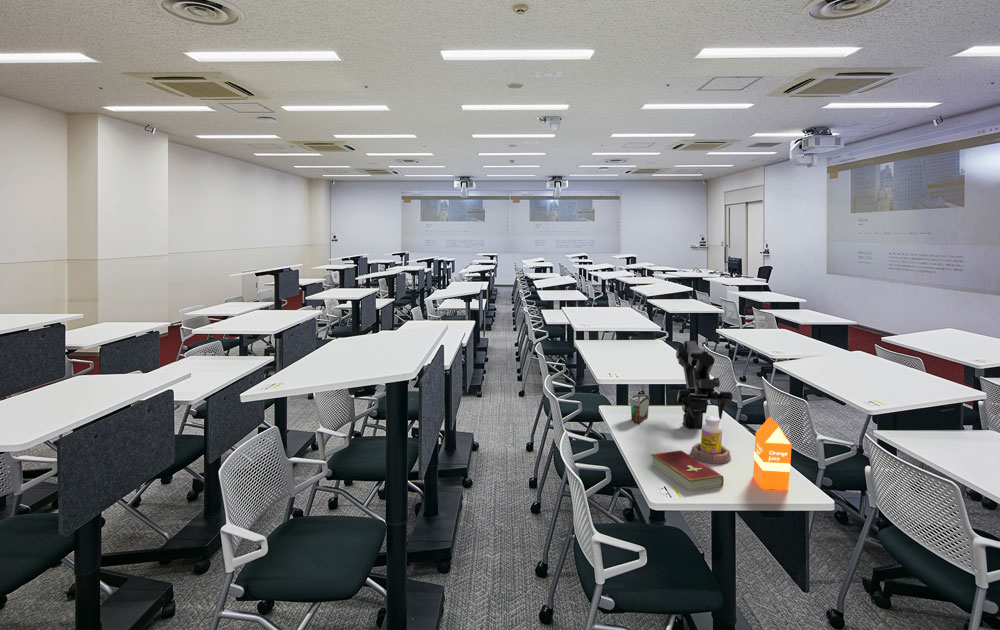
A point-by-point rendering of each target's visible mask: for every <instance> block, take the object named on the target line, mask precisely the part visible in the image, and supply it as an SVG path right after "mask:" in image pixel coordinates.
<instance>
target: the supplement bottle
mask: <svg viewBox="0 0 1000 630" xmlns="http://www.w3.org/2000/svg"><path fill="white" fill-rule="evenodd" d="M704 419H705V423H704V424H702V428H701V434H700V435H701V437H700V443H701V452H703V453H707V454H711V455H718V454H721V446H723V445H722V444H723V442H722V441H723V428H722V426H721V425H720V423H721V419H720V418H719V417H716V416H712V415H709V416H706V417H705V418H704Z"/></svg>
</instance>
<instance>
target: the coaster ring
mask: <svg viewBox="0 0 1000 630" xmlns="http://www.w3.org/2000/svg"><path fill="white" fill-rule="evenodd" d="M730 453H731V451H730V450H729V449H728V448H726V447H725V446H724V445H721V454H718V455H711V454H707V453H703V452H701V442H700V443H699V442H698V443H695V444H694V445H693V446H692V447H691V450H690V456H691V457H693V458H695V459H696V460H698V461H700V462H701V463H705V464H713V465H723V464H727V463H729V462H731V460H732V457H731V454H730Z"/></svg>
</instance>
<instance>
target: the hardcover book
mask: <svg viewBox="0 0 1000 630" xmlns="http://www.w3.org/2000/svg"><path fill="white" fill-rule="evenodd" d="M650 455H651V457H652V465H653V466H654V465H655V467H656V468H657V467H658V468H657V469H659V470H660V469H661V470H662V471H661V470H660V471H661V472H662V473H664V472H665V473H664V474H665V475H667V474H668V475H669V476H668V475H667V476H668V477H670V478H671V479H673V480H674V481H675V480H676V481H675V482H677V483H678V484H680V485H681V486H682V485H683V486H682V487H684V488H685V487H686V488H685V489H687V490H688V491H689V490H693V491H699V490H704V489H711V488H718V486H719V487H724V483H725V482H724V481H725V480H724V475H723V474H721V473H719V472H717V471H716V470H714V469H713V468H711V467H709V466H708V465H706V464H704V462H701V461H699V460H696V459H695V458H693V457H692V456H691V454H688V453H687V452H685V451H684V450H673V451H672V450H671V451H664V452H658V453H651V454H650ZM698 489H699V490H698Z"/></svg>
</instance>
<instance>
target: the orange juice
mask: <svg viewBox="0 0 1000 630" xmlns="http://www.w3.org/2000/svg"><path fill="white" fill-rule="evenodd" d="M754 441H755V442H754V452H753V470H752V471H753V472H752V477H754V478H753V479H754V481H755V483H757V485H758V484H759V485H758V486H759V488H760V489H761V490H767V489H775V490H774V491H782V490H786V491H785V492H789V488H790V487H789V486H790V485H789V483H790V472H791V457H792V445H793V444H792V443H791V442H790V440H789V439H788V438H787V436H786V434H785V433H784V432H783V430H782V429H781V427H780V425H779V423H777V422H776V421H775V420H774V419H773V418H772V417H771V416H769V417H768V418H767V419H766V421H765V422H763V424H762V425H761V426H760V428H758V430H757V431H755V439H754Z"/></svg>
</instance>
